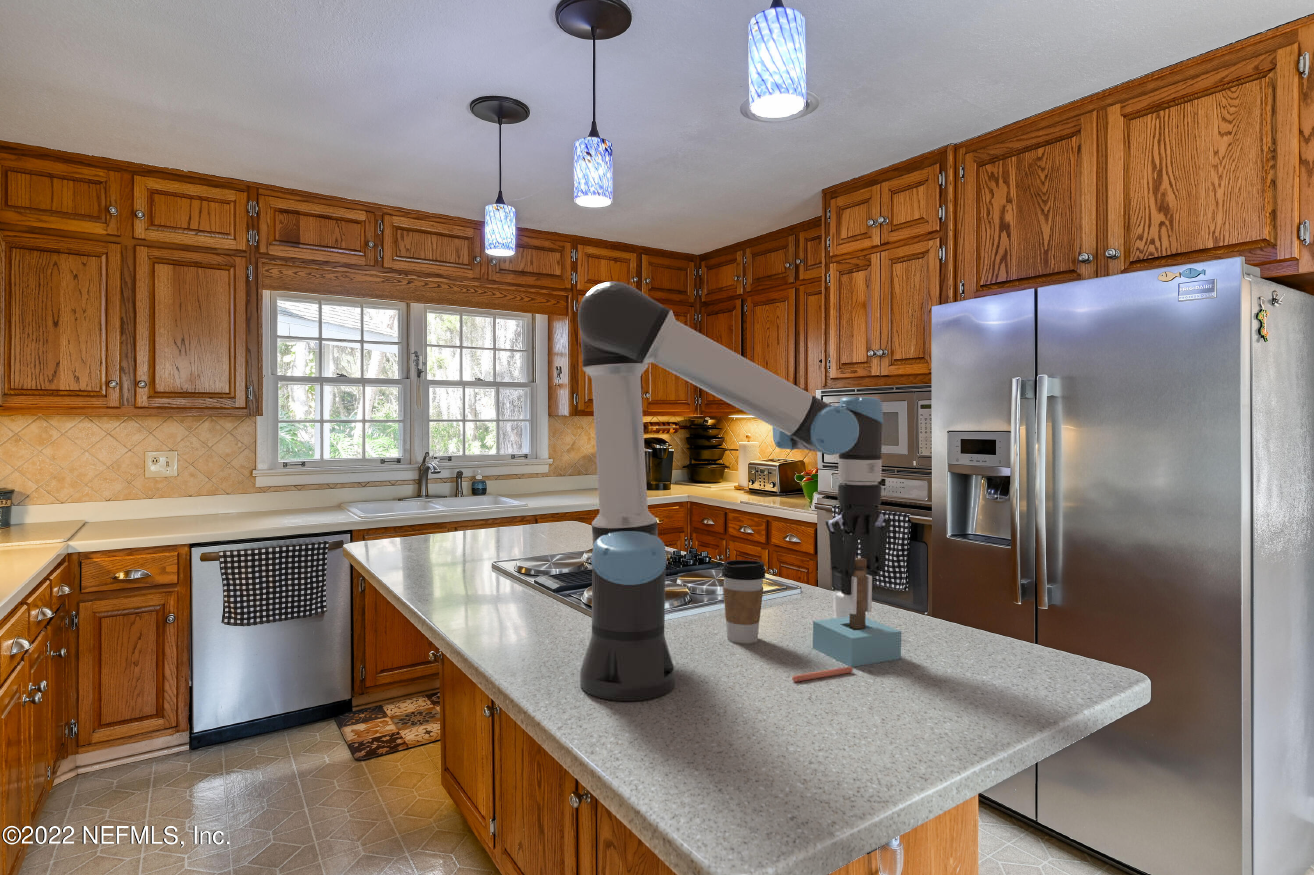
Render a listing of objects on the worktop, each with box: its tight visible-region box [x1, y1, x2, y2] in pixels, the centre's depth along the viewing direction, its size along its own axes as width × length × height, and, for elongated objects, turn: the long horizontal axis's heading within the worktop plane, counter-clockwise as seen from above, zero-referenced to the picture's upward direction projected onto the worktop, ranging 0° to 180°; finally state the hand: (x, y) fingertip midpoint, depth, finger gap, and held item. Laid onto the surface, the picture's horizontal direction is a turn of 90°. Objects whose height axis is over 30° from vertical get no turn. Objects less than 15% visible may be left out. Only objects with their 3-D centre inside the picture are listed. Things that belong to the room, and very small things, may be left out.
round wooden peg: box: [849, 557, 867, 630], centre depth 130 cm, size 3×3×15 cm
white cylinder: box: [832, 590, 850, 618], centre depth 146 cm, size 7×7×7 cm
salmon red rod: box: [791, 666, 854, 683], centre depth 118 cm, size 12×1×1 cm, turn 114°
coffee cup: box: [721, 559, 766, 644], centre depth 138 cm, size 8×8×15 cm
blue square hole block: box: [812, 616, 902, 668], centre depth 130 cm, size 11×11×5 cm
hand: (857, 610), depth 130 cm, fingers closed on round wooden peg, 3 cm apart
